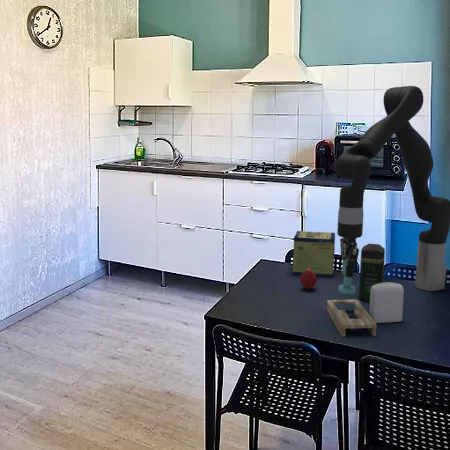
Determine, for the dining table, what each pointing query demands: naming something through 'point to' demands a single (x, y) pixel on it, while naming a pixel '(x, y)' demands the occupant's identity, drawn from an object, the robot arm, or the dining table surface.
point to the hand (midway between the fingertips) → (347, 274)
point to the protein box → (314, 253)
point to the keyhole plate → (345, 322)
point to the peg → (346, 282)
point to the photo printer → (386, 302)
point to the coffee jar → (371, 269)
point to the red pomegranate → (308, 279)
